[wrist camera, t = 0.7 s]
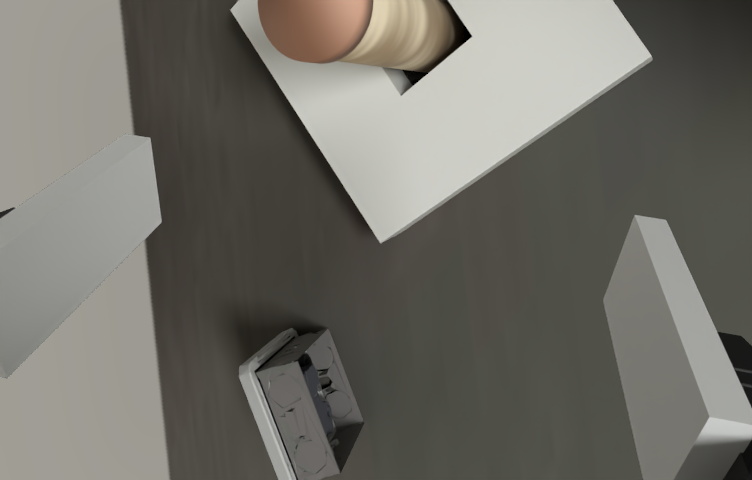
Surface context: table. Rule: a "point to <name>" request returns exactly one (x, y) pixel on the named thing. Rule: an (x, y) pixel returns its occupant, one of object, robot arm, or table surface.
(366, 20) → the plug
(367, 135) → the socket block
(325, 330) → the electrical switch
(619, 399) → the table surface
